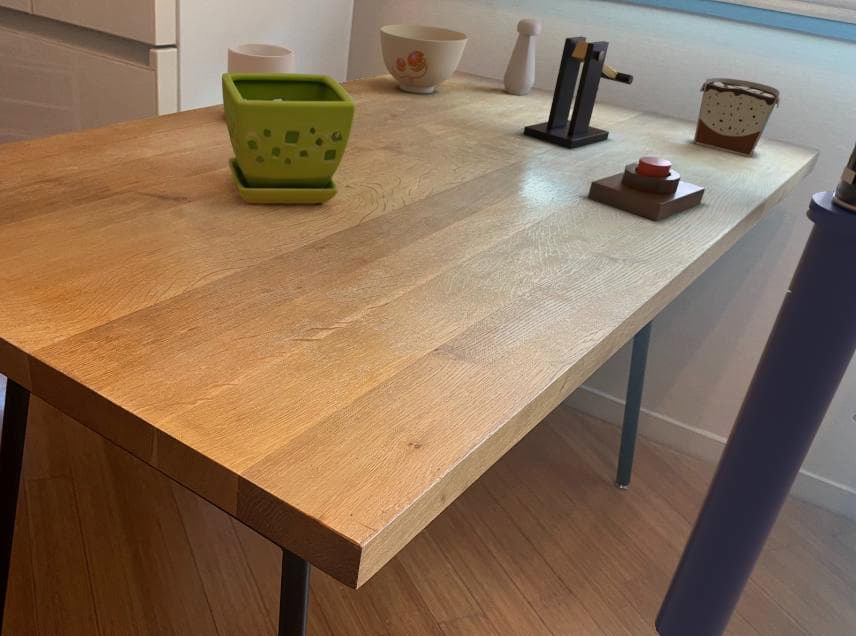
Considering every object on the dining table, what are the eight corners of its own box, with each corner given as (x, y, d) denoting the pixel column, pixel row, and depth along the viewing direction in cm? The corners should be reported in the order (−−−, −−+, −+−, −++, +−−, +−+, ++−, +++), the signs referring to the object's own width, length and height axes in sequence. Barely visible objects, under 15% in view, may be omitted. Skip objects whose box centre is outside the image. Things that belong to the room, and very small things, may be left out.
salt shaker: (529, 97, 163) (543, 23, 156) (499, 93, 165) (512, 19, 158) (533, 91, 168) (548, 19, 161) (504, 87, 170) (517, 15, 163)
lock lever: (597, 80, 145) (603, 66, 145) (629, 88, 142) (635, 74, 141) (561, 53, 135) (567, 38, 134) (594, 61, 131) (601, 45, 130)
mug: (262, 131, 130) (265, 59, 124) (213, 117, 134) (214, 47, 129) (313, 119, 138) (318, 50, 133) (265, 105, 143) (268, 39, 138)
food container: (771, 152, 142) (794, 89, 137) (759, 159, 138) (782, 94, 132) (698, 135, 148) (716, 74, 143) (684, 140, 144) (703, 78, 139)
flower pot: (218, 173, 111) (220, 70, 105) (323, 174, 114) (331, 74, 108) (232, 211, 100) (234, 98, 93) (348, 211, 103) (359, 101, 96)
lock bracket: (560, 126, 146) (581, 32, 139) (607, 139, 141) (631, 43, 133) (522, 134, 140) (542, 36, 132) (570, 149, 134) (593, 48, 127)
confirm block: (633, 183, 122) (641, 154, 119) (700, 204, 116) (709, 174, 114) (587, 197, 114) (594, 167, 112) (656, 221, 108) (665, 190, 106)
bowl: (357, 86, 161) (362, 28, 156) (406, 76, 172) (412, 22, 166) (428, 104, 153) (436, 44, 147) (475, 93, 163) (484, 36, 158)
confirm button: (645, 167, 115) (649, 154, 115) (673, 176, 113) (677, 163, 112) (630, 172, 113) (634, 159, 112) (658, 181, 111) (662, 167, 110)
